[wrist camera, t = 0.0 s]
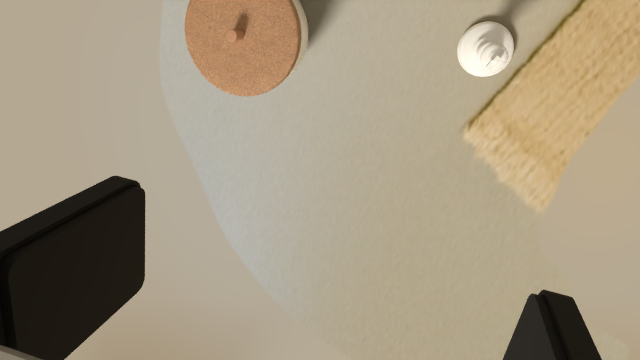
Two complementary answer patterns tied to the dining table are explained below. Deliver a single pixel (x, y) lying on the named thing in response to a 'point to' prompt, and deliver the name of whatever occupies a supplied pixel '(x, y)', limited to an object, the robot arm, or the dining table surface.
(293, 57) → the lidded jar
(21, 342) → the robot arm
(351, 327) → the dining table surface
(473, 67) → the chess piece
